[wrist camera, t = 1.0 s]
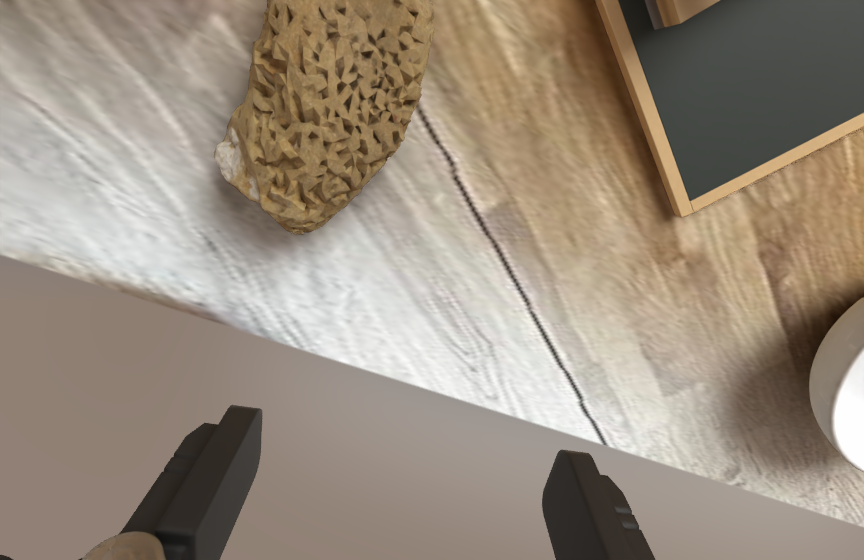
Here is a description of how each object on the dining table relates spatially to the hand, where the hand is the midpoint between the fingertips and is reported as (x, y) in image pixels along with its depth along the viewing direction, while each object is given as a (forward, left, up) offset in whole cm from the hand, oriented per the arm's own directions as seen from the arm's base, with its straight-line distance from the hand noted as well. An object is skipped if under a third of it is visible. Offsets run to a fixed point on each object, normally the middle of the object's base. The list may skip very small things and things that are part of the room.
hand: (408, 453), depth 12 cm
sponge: (-10, -5, -27) cm, 30 cm away
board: (-11, +24, -27) cm, 38 cm away
